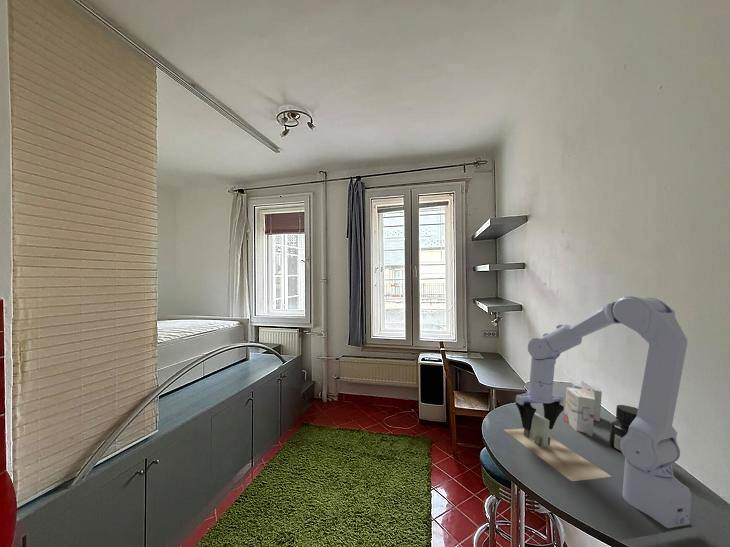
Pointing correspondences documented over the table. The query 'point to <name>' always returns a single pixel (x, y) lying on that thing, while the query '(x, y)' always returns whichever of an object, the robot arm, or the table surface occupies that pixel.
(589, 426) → the ink cartridge box
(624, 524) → the table surface
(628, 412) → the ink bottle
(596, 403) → the small box
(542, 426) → the pale green flat block
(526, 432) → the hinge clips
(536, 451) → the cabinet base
